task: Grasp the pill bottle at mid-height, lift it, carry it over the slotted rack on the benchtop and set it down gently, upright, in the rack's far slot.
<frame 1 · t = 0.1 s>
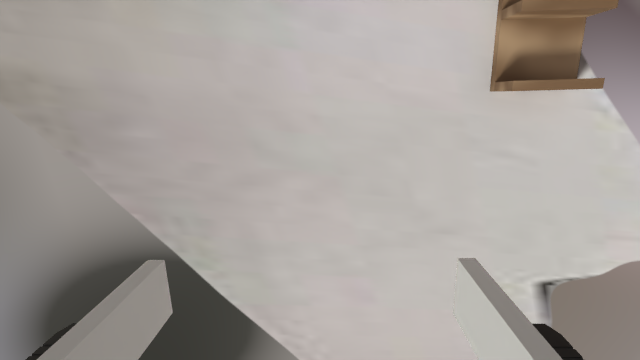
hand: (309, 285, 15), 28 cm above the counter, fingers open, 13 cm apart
rack: (538, 15, 37), on the counter
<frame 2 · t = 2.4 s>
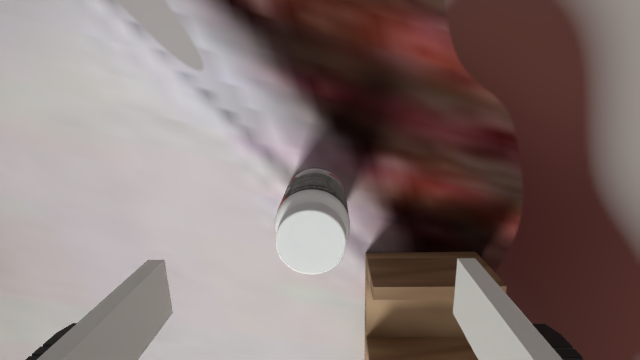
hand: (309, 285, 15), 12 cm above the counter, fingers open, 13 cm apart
rack: (415, 333, 30), on the counter
pill bottle: (316, 195, 27), on the counter
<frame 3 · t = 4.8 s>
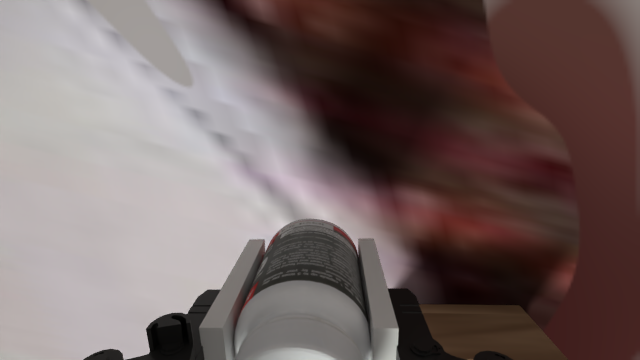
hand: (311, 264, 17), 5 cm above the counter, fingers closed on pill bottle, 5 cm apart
pill bottle: (312, 257, 17), point 5 cm above the counter, touching gripper
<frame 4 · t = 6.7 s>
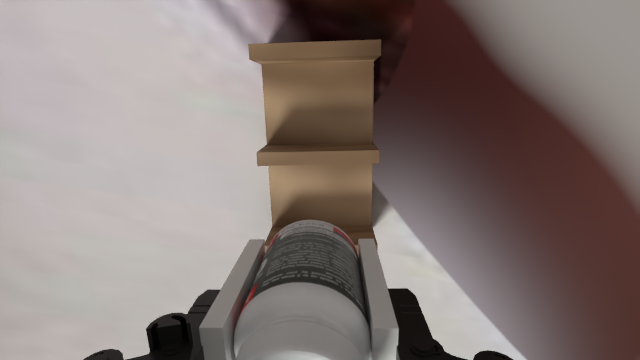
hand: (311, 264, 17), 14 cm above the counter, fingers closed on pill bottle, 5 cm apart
rack: (320, 147, 29), on the counter
pill bottle: (312, 258, 17), point 13 cm above the counter, touching gripper
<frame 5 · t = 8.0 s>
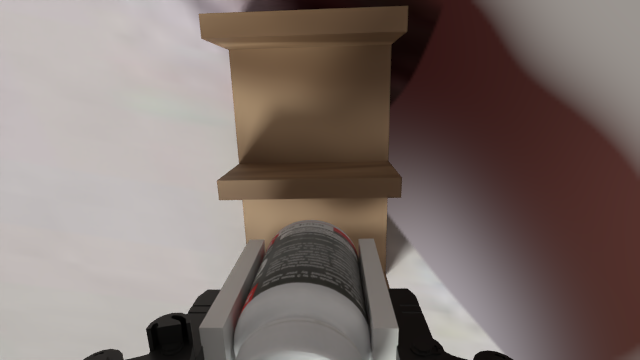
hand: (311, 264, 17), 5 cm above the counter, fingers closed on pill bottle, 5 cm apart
rack: (314, 166, 21), on the counter
pill bottle: (312, 258, 17), point 5 cm above the counter, touching gripper
when the fingers open (2 cm above the counter, at t = 8.9 s): pill bottle stays where it is, resting on rack.
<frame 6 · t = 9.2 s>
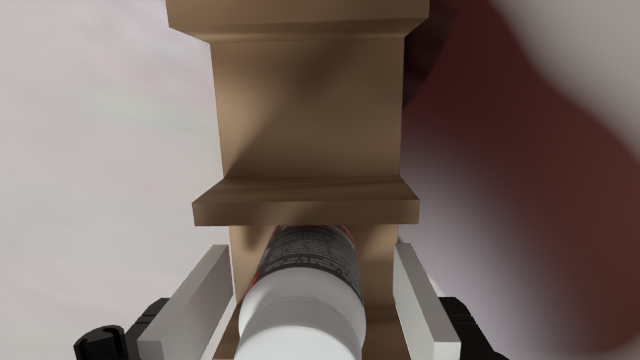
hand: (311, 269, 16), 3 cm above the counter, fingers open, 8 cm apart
rack: (312, 181, 18), on the counter
pill bottle: (312, 249, 18), point 1 cm above the counter, touching rack
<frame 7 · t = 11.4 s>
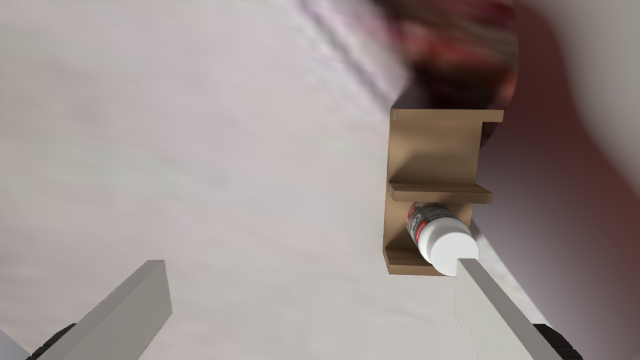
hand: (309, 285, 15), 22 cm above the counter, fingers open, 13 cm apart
rack: (428, 184, 36), on the counter
pill bottle: (427, 219, 36), point 1 cm above the counter, touching rack
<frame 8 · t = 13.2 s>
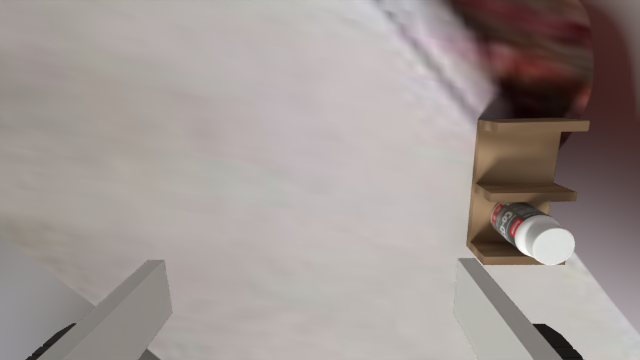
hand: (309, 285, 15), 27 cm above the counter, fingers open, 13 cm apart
rack: (509, 185, 40), on the counter
pill bottle: (508, 215, 41), point 1 cm above the counter, touching rack
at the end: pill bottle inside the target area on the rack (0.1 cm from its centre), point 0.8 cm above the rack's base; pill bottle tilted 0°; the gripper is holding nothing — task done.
